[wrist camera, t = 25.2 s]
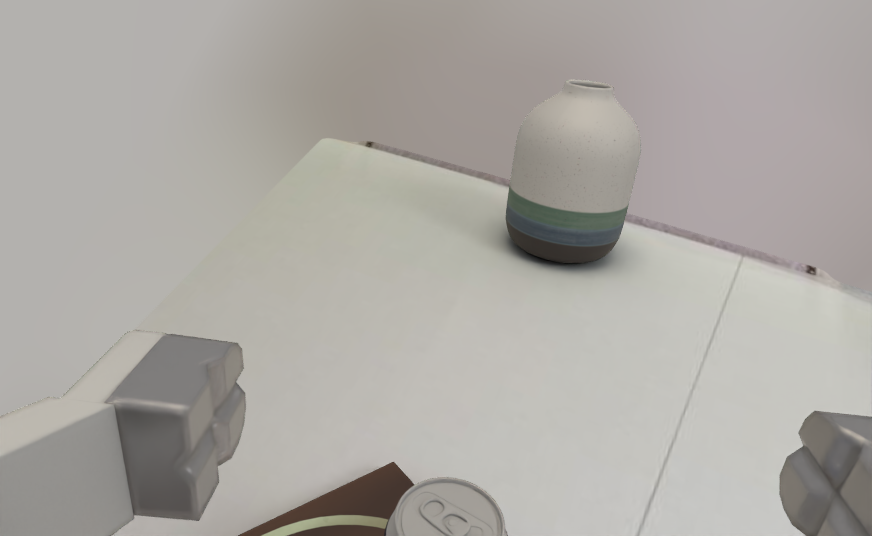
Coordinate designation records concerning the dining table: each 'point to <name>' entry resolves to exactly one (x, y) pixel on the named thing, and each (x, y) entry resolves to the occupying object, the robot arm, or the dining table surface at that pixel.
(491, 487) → the dining table surface
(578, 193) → the vase
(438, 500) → the beverage can
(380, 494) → the brown flat square board
